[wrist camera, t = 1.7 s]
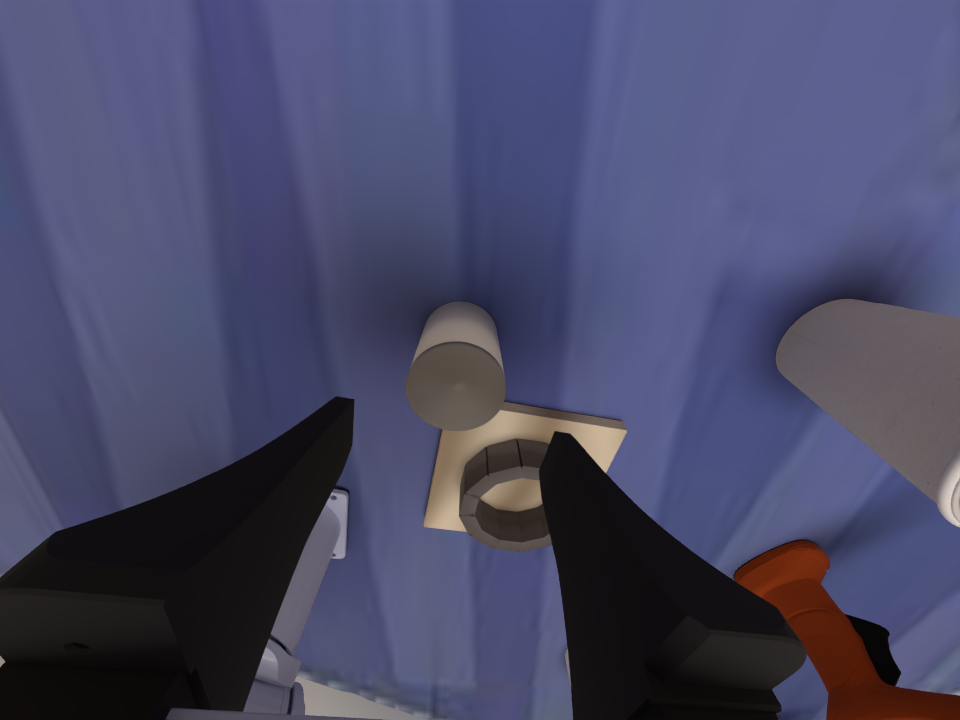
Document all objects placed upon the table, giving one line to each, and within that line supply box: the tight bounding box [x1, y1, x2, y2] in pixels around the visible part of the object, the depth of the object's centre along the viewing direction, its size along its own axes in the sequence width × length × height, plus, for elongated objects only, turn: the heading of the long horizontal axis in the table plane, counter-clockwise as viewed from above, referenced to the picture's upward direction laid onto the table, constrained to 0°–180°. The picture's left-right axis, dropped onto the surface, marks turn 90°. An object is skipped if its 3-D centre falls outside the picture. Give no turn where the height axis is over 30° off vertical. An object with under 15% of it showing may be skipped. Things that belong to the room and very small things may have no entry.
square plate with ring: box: [423, 402, 628, 552], centre depth 24 cm, size 12×12×4 cm
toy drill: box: [734, 541, 960, 720], centre depth 23 cm, size 5×19×15 cm, turn 136°
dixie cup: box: [776, 299, 960, 527], centre depth 16 cm, size 8×8×10 cm
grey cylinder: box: [406, 301, 506, 431], centre depth 17 cm, size 4×4×6 cm
